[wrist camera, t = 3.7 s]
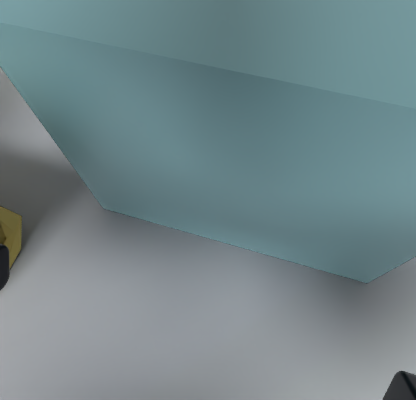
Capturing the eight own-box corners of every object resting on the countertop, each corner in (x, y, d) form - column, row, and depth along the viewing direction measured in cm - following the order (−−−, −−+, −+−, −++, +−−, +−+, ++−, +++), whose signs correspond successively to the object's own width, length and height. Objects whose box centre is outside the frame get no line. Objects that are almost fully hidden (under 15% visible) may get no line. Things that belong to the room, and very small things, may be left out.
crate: (366, 284, 15) (610, 149, 6) (103, 209, 16) (-38, 15, 7) (385, 117, 18) (551, -129, 9) (168, 71, 20) (129, -173, 11)
